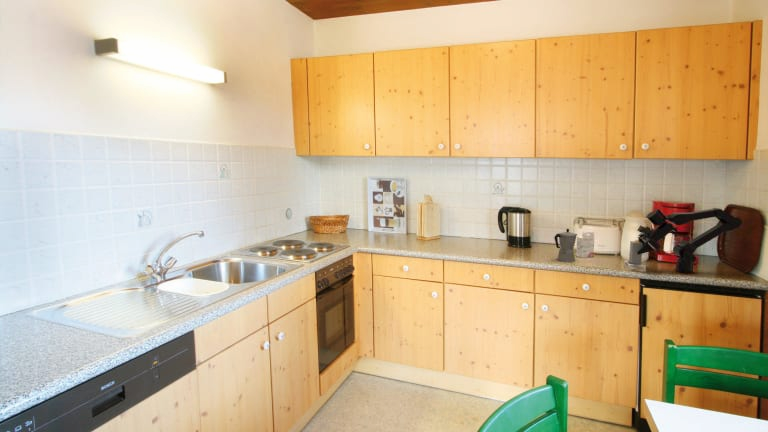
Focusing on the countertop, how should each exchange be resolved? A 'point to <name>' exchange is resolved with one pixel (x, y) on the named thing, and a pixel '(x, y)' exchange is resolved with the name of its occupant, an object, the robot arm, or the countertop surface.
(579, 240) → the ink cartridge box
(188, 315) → the countertop surface
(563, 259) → the coffeepot
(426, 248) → the countertop surface
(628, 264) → the rail dock
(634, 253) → the block
